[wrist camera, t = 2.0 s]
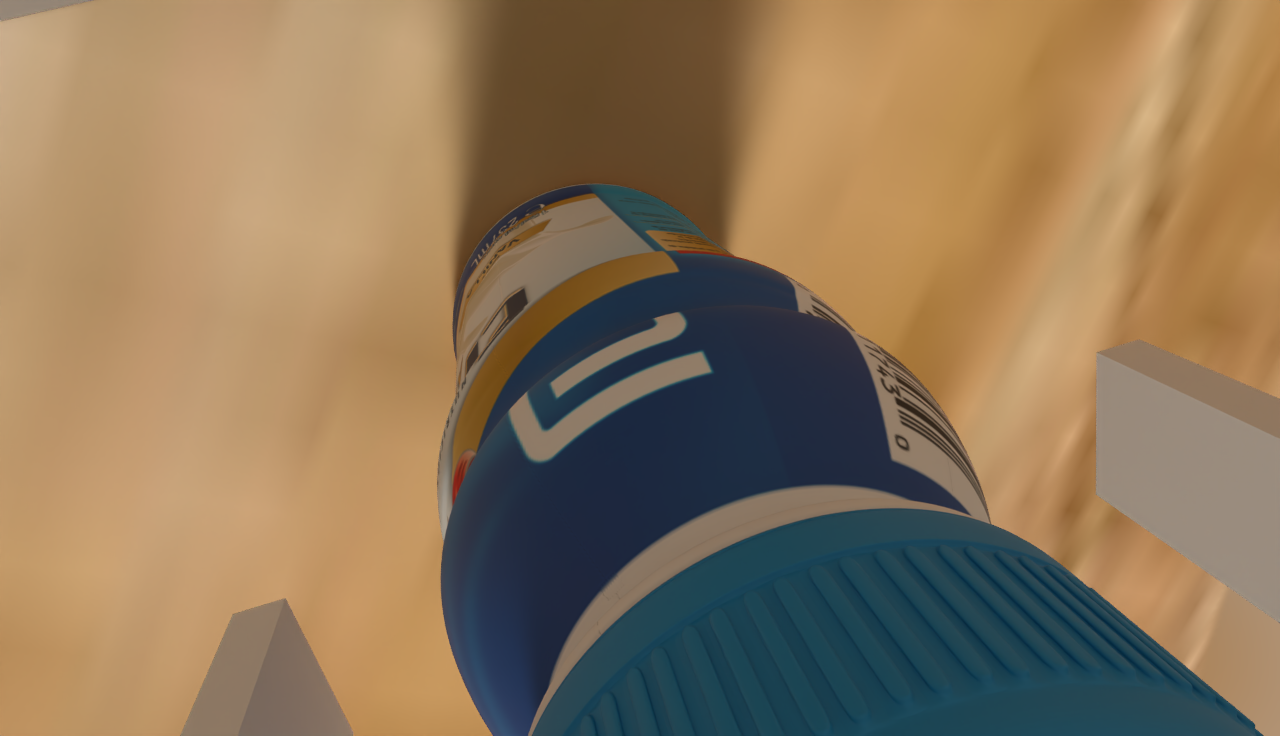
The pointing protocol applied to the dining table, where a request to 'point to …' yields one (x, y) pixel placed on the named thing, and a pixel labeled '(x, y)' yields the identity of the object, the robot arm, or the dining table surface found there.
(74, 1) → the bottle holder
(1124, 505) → the robot arm
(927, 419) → the beverage bottle
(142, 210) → the dining table surface
